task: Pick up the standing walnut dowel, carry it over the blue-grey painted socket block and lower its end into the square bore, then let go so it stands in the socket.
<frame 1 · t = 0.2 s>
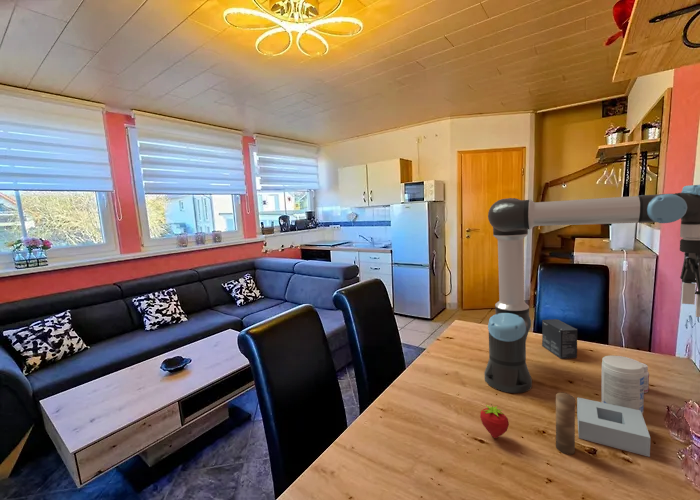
hand: (694, 310, 95), 28 cm above the table, fingers open, 13 cm apart
dowel: (565, 448, 82), on the table
pill bottle: (638, 389, 105), on the table
supplement tub: (621, 409, 96), on the table
strawberry: (494, 438, 88), on the table
small box: (558, 352, 134), on the table
socket block: (609, 432, 86), on the table
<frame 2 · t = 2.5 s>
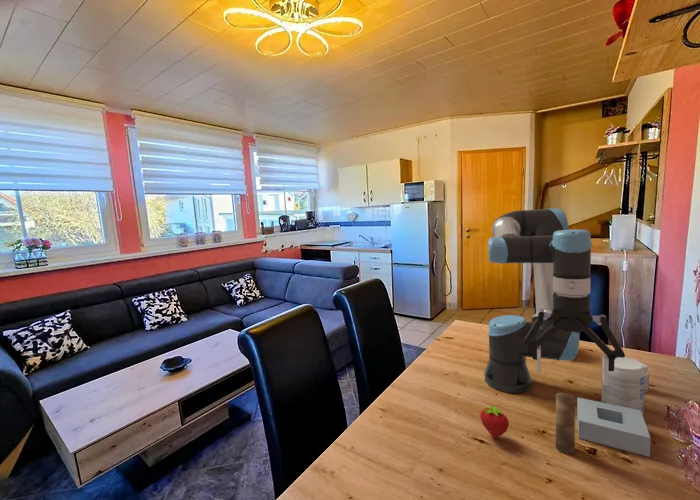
hand: (570, 377, 80), 19 cm above the table, fingers open, 13 cm apart
nothing on the table moved.
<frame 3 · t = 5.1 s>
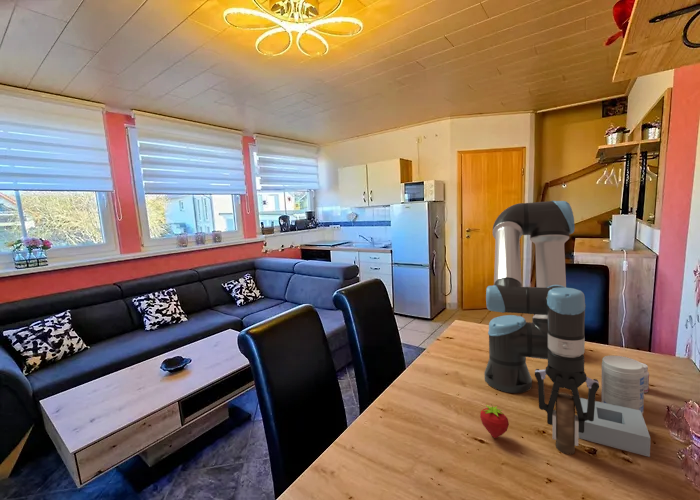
hand: (565, 439, 82), 3 cm above the table, fingers closed on dowel, 4 cm apart
dowel: (565, 448, 82), on the table, touching gripper
everything else where it was.
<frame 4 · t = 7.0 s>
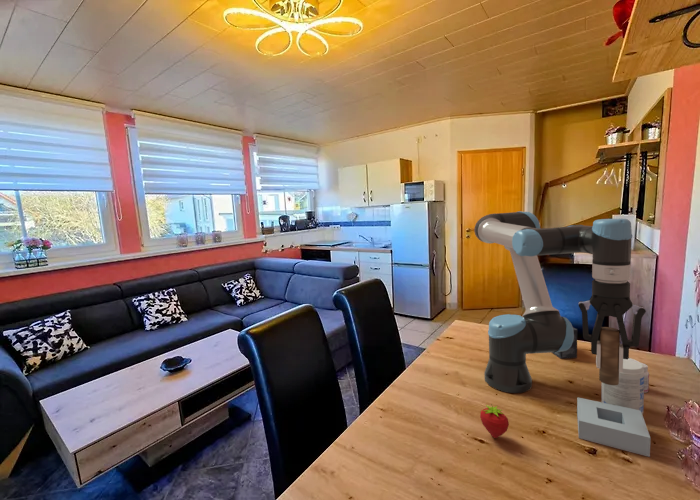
hand: (609, 367, 84), 19 cm above the table, fingers closed on dowel, 4 cm apart
dowel: (608, 381, 84), point 15 cm above the table, touching gripper
everything else where it was.
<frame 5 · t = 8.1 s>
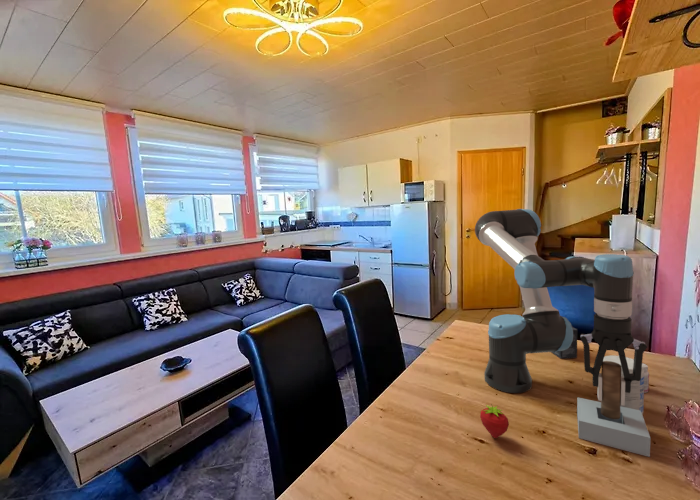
hand: (610, 400, 85), 9 cm above the table, fingers closed on dowel, 4 cm apart
dowel: (610, 414, 86), point 5 cm above the table, touching gripper
everything else where it was.
when the fingers open (6 cm above the table, at t = 9.0 s): dowel drops 2 cm, resting in socket block.
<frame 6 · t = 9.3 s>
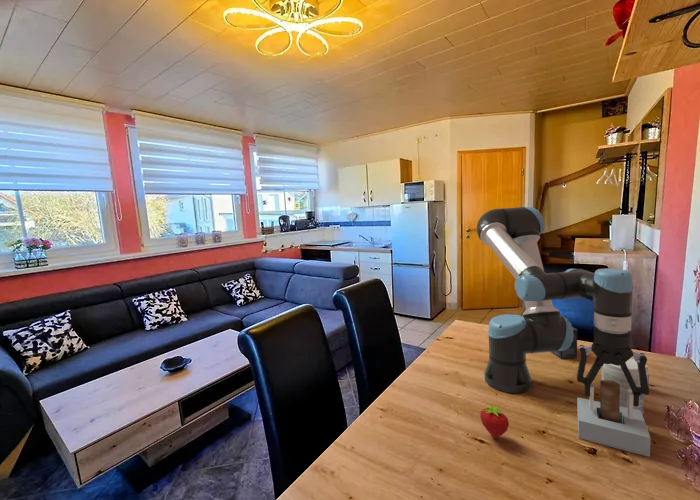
hand: (610, 411, 86), 6 cm above the table, fingers open, 7 cm apart
dowel: (609, 432, 86), resting in socket block
everything else where it was.
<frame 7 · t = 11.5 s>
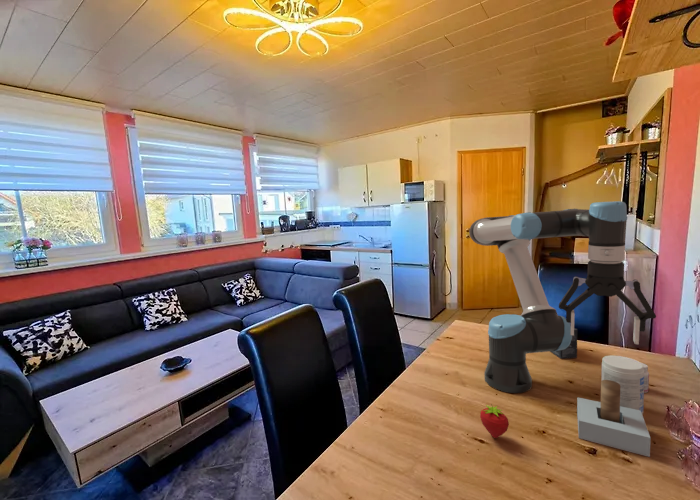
hand: (602, 337, 87), 25 cm above the table, fingers open, 13 cm apart
nothing on the table moved.
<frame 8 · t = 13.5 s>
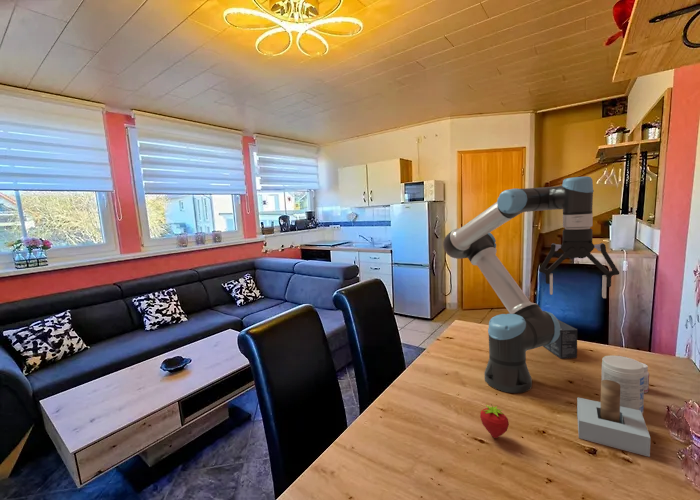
hand: (576, 295, 101), 33 cm above the table, fingers open, 13 cm apart
nothing on the table moved.
at the end: dowel 0.0 cm off-centre on the socket block, point 0.0 cm above the socket block's base; dowel tilted 0°; the gripper is holding nothing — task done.
